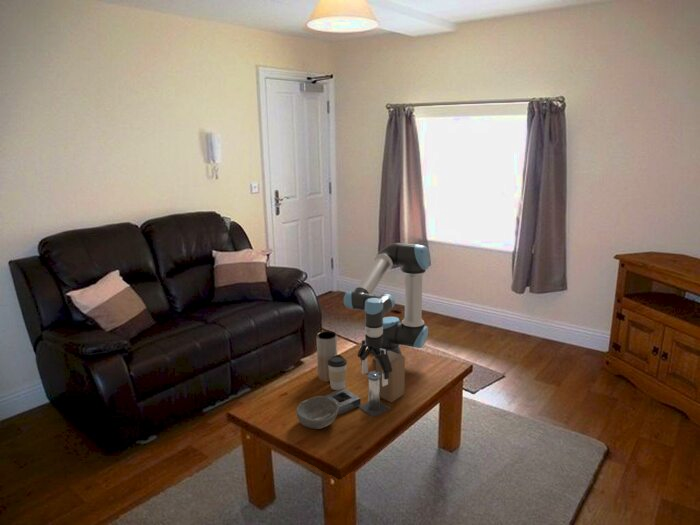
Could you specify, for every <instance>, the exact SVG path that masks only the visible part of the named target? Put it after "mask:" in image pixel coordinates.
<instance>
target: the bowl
mask: <svg viewBox="0 0 700 525" xmlns="http://www.w3.org/2000/svg"><path fill="white" fill-rule="evenodd" d="M323 396H324V395H323ZM323 396H322V395H317V396H313V397H310V398H307V399H305V400H303V401H301V402H300V403H299V404H298V405H297V407H296V410H295V412H296V418H297V419H298V421H299V422H300V424H301V425H303V426H305V427H306V428H309V429H317V430H321V429H323V428H326V427H328V426H331V425H332V424H333V423H334V421H335V419H337V415H339V414H338V411H339V405H338V404H337V403H336V402H335V401H333V400H332V399H329V398H326V397H323Z"/></svg>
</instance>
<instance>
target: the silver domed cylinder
mask: <svg viewBox="0 0 700 525" xmlns="http://www.w3.org/2000/svg"><path fill="white" fill-rule="evenodd" d="M366 377H367V379H368V402H369V409H370V410H378V409H379V408H380V402H381V400H380V398H381V397H380V378H381V373H380V372H377V371H376V370H371V371H369V372H367V373H366Z"/></svg>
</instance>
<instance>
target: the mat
mask: <svg viewBox="0 0 700 525" xmlns="http://www.w3.org/2000/svg"><path fill="white" fill-rule="evenodd" d="M358 409H360V410H361V411H363V412H364V413H366V414H367V415H369V416H371V417H372V418H375V417H377V416H379V415H381V414H383V413H385V412H387V411H390V410H391V408H390V407H389V406H387V405H386V404H384V403H382V402H381V401H380V408H379V409H378V410H370V409H369V401H368V402H366V403H363V404H361V405H360V406H358Z"/></svg>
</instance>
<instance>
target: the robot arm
mask: <svg viewBox="0 0 700 525" xmlns="http://www.w3.org/2000/svg"><path fill="white" fill-rule="evenodd" d="M430 264H431V254H430V250H429V248H428V247H427V246H426V245H422V244H418V243H417V244H415V243H405V242H404V243H403V242H402V243H401V242H393V243H391V244H388V245H386V246H385V247H383V248H382V249H381V250H379V252H377V254H376V256H375V257H374V262H373V263H372V264H371V266H370V268H369V269H368V271H367V272H366V274H364V276H363V277H362V279H361V281H360V282H359V283H358V285H357V287H356V288H355V289H354V290H353V291H352V290H351V291H346V292H345V293H344V296H343V305H344V306H345V308H347V309H352V310H358V311H364V319H365V320H364V324H365V326H364V327H365V328H364V330H365V332H364V333H365V335H364V336H365V337H364V338H365V339H363V340H361V346H360V348H359V351H358V353H357V357H358V358H359V359H360V366H361V374H362V375H364V374H367V373H368V371H369V370H368V367H369V366H368V365H369V364H368V356H369V355H370V354H371V355H372V356H373V360H374V362H375V363H376V358H377V359H378V361H379V363H380V365H381V368H382V370H383V372H382V386H385V385H388V378H389V372H392V367H391V364H390V361H389V358H388V355H387V351H392V352H395V353H398V354H400V355H403V353H402V352H401V348H400V345H401V346H405V347H410V348H413V349H414V348H415V349H416V348H417V349H421V348H423V347H424V346H425V344H426V341H427V338H428V335H429V327H428V326H426V325H425V320H424V319H423V317H422V316H423V315H422V314H423V313H422V312H423V311H422V310H423V307H422V306H423V275H424V274H425V273H426V270H429V267H430ZM393 267H401V271H402V273H403V275H404V318H403V319H402V320H400V318H399V317H397V316H386V315H387V314H388V313H389V312H391V311H392V309H393V308H394V307H395V303H396V302H395V301H396V300H395V298H394V297H393V296H392V294H389V293H384V294H381V295H376V294H374V292H375V290H376V288H377V287H378V285H380V283H381V281H382V279H383V278H384V276H385V275H386V273H387V272H388V271H389V270H391V269H392V268H393ZM384 316H385V317H384ZM385 369H386V370H385Z"/></svg>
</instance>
